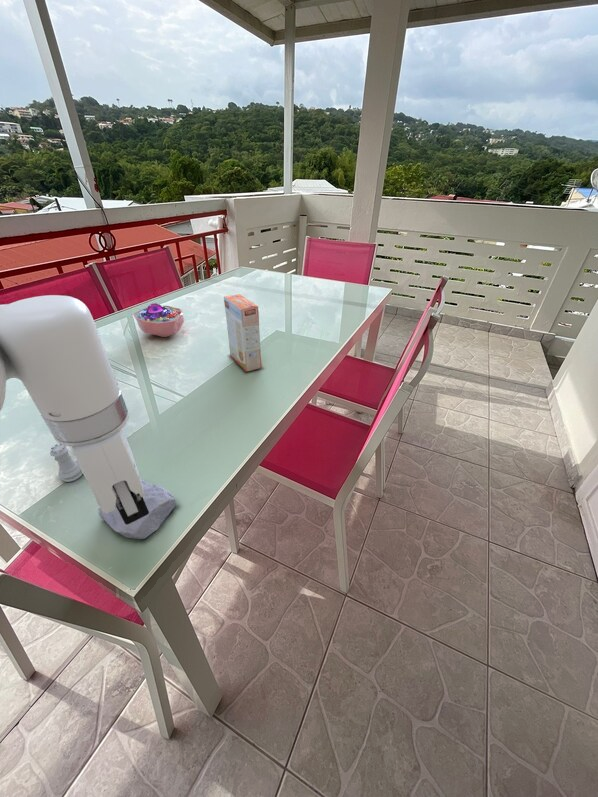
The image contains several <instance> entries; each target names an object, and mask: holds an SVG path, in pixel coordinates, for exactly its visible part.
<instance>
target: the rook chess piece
mask: <svg viewBox="0 0 598 797" xmlns="http://www.w3.org/2000/svg"><path fill="white" fill-rule="evenodd" d="M69 450H70V446H65V445H62V444H60V443H55V444H54V445H53V446H50V452H49V455H50V456H51V457H54V461H56V462H57V464H58V467H59V468H58V477H59V479H60V481H62V482H65V483H71V482H75V481H77V480H79V479H80V478H81V477H82V476H83V475H84V474H83V472H82V470H81V468H80V466H79V464H78V462H77V460H75V459H74V458H73V456H72V455H71V454H72V453H71V452H70V451H69Z"/></svg>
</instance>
